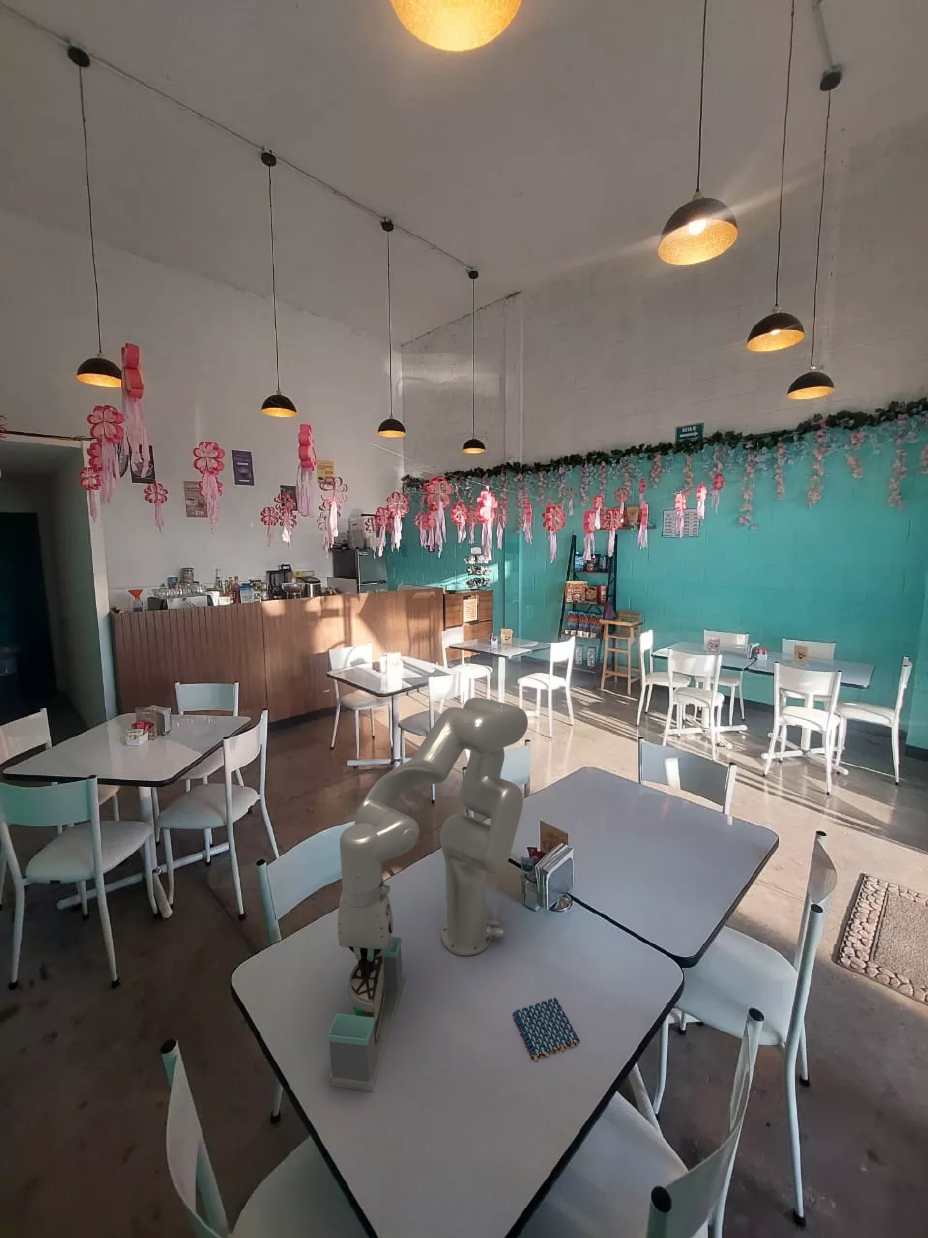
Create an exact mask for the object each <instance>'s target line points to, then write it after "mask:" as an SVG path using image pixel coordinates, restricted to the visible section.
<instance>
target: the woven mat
mask: <svg viewBox="0 0 928 1238" xmlns="http://www.w3.org/2000/svg"><path fill="white" fill-rule="evenodd" d="M562 1007H563V1006H561V1004H560V1003H559V1000H558V999H557V997H554V998H552V997H550V998H549V999H545V1000H544V1001H543V1000H541V1002H540V1001H538V1002H536V1003H535V1004H533V1003H532V1004H530V1005H529V1006H528V1005H527V1006H526V1007H521V1008H519V1009H518V1008H517V1009H516V1010H515V1011H514V1012H512V1017H513V1021H514V1022H515V1024H516V1026H517V1028H518V1031H519V1032H520V1036H521V1038H522V1039H523V1042H524V1043H525V1047H526V1049H527V1051H528V1054H529V1055H530V1059H531V1060H534V1062H537V1061H538V1060H539V1059H538V1058H540V1059H542V1058H544V1057H546V1058H548V1057H549V1054H550V1055H553V1054H554V1051H555V1054H556V1055H558V1054H560V1051H561V1052H564V1051H565V1049H569V1046H570V1048H575V1045H576V1046H578V1045H579V1042H580V1041H581V1040H580V1037H578V1033H577V1032H576V1031H575V1030H574V1027H573V1025H572V1024H571V1022H570V1020H569V1018H568V1016H567V1015H566V1013H565V1010H563V1008H562ZM543 1055H544V1057H543Z"/></svg>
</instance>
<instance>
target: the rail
mask: <svg viewBox="0 0 928 1238" xmlns="http://www.w3.org/2000/svg"><path fill="white" fill-rule="evenodd" d="M405 982H406V975H405V973H403V972H402V976H401V980H400V983H399V986H398V989H392V988H384V992H385V998H384V1003H383V1008H382V1014H381V1019H380V1024H379V1030H378V1035H377V1040H375V1049H376V1062H375V1065H374V1068H373V1071H372V1075H371V1078H370V1081H369V1082H365V1081H358V1080H351V1079H343V1078H336V1077H332V1070H331V1071H330V1073H329V1086H330V1087H335V1088H344V1089H352V1090H356V1091H357V1090H358V1091H364V1092H371V1093H372V1092H373V1091H374V1087H375V1084H376V1081H377V1078H378V1074H379V1071H380V1067H381V1064H382V1060H383V1058H384V1054H385V1050H386V1047H387V1043H388V1040H389V1037H390V1034H391V1029H392V1027H393V1023H394V1019H395V1016H396V1012H397V1011H398V1006H399V1003H400V999H401V996H402V993H403V989H404V985H405ZM352 1015H354V1013H353V1014H352ZM354 1016H355V1015H354Z"/></svg>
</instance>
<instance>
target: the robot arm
mask: <svg viewBox="0 0 928 1238" xmlns="http://www.w3.org/2000/svg"><path fill="white" fill-rule="evenodd" d="M528 724H529V719H528V716H527V713H526V712H525V710H524V709H523V708H521V707H519V706H517V705H514V704H509V703H505V702H500V701H497V700H493V699H489V698H485V697H484V698H483V697H470V698H469V699H467V700H466V701H465V702H464V703H463V707H456V706H451V707H447V708H446V709H444V710H443V711H442V713H441V714H440V715H439V717H438V719H437V720H436V721H435V723H434V725H433V726H432V728H431V729H430V731H429V732H428V734H427V735H426V737H425V738H424V740H423V742H421V745H420V746H419V747H418V749H417V751H416V752H415V753H414V755H413V757H411V758H410V759H409V760H407V761H406V762H403V763H401V764H400V765H398V766H396V767H395V768H393V769H391V770H389V772H386V773H385V774H384V775H383V776H381V777H380V778H379V779H378V780H377V781H376V782H375V783H374V784H373V786H372V787H371V788H370V790H369V791H368V792H367V794H366V796H364V799H363V801H362V802H361V803H360V806H358V809H357V811H356V814H355V817H354V823H353V824H352V825H350V826H349V827H347V828H345V830H343V832H342V833H341V835H340V838H339V849H340V850H339V852H340V865H341V866H340V867H341V880H342V881H341V884H342V885H341V886H342V893H341V894H340V898H339V903H338V904H339V905H338V912H337V939H338V945H339V946H341V947H343V948H348V949H349V950H350V951H351V952H352V953H353V954H354V957H355V959H356V960H357V963H358V966H359V970H361V978H366V979H369V978H370V975H371V973H372V972H374V970H375V967H376V960H375V956H376V955H378V954H379V953H380V952H381V951H390V950H391V949H392V946H393V942H392V938H391V937H392V936H391V935H392V934H393V932H394V919H393V912H392V906H391V901H390V897H389V893H390V890H391V889H390V885H387V884H385V883H384V878H383V868H382V863H383V862H386V861H388V860H392V859H394V858H397V857H399V856H402V855H405V854H406V853H408V852H410V851H411V850H412V849H413V848H414V847H415V846H416V844H417V843H418V841H419V838H420V827H419V825H418V823H417V822H416V821H415V819H413V818H412V817H410V816H409V815H406V814H404V813H402V812H400V811H398V810H396V809H395V808H393V807H391V805H392V804H393V802H394V801H396V799H397V798H398V797H399V796H401V795H402V794H404V793H405V792H407V791H409V790H412V789H415V788H418V787H419V788H420V787H426V786H432V785H437V784H441V783H443V782H445V781H446V780H447V778H448V776H449V774H450V773H451V771H452V770H453V767H454V766H455V764H456V763H457V761H458V760H459V757H460V756H461V755H462V753H463V751H464V750H469V751H470V753H469V757H468V761H467V765H466V768H465V771H464V775H463V779H462V781H461V786H460V788H459V789H460V790H459V793H458V794H459V795H458V800H459V802H460V804H461V806H463V807H464V808H465V809H467V810H469V811H470V812H473V813H474V814H478V815H479V816H483V817H484V818H487V819H490V823H485V822H484V821H482V820H479V819H477V818H475V817H473V816H469V815H467V814H462V813H454V814H452V815H450V816H449V817H447V818H446V819H445V820H444V822H443V824H442V826H441V829H440V837H439V838H440V840H439V842H440V845H441V846H440V847H441V851H442V854H443V860H444V868H445V890H446V891H445V892H446V893H445V895H446V922H445V923H444V924H443V926H442V927H441V932H440V935H441V937H440V938H441V942H442V944H443V946H444V947H445V948H446V949H447V950H448V951H449V952H451V953H453V954H455V955H457V956H463V957H464V956H467V957H468V956H474V955H477V954H480V953H482V952H483V951H485V950H486V949H487V948H488V947H489V945H491V942H492V939H493V937H496V938H504V934H505V932H504V931H505V928H504V927H500V921H499V920H498V921H495V920H494V921H492V920H491V919H489V914H488V912H486V873H488V874H491V875H496V874H498V873H500V872H502V871H503V870H504V869H505V867H506V866H507V864H508V862H509V859H510V857H511V852H512V850H513V846H514V842H515V839H516V836H517V831H518V827H519V823H520V820H521V816H522V813H523V811H522V810H523V805H524V800H523V798H524V797H523V793H522V790H521V788H520V787H519V786H518V785H517V784H516V783H514V782H512V781H509V780H506V779H504V778H501V775H502V774H501V773H502V769H503V765H504V762H505V748H506V747H509V746H512V745H514V744H516V743H518V742H519V741H520V740H521V739H522V738H523V737H524V736H525V734H526V731H527V730H528V726H529V725H528Z"/></svg>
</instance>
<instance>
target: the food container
mask: <svg viewBox="0 0 928 1238" xmlns="http://www.w3.org/2000/svg"><path fill="white" fill-rule="evenodd" d="M383 959H384V954H383V952H380V953H379V954H378V955H376V956H375V960H376V967H375V970H374V972H372V973H371V975H370V978H369V979H366V978H361V970H359V966H358V962H357V963H356V965H355V966H353V969H352V971H351V972H350V975H349V978H348V983H347V996H348V999H349V1001H350V1002H351V1003H352V1007H353V1014H354V1015H355V1016H362V1017H371V1018H374V1020H375V1024H374V1032H375V1040H377V1035H378V1030H379V1024H380V1019H381V1014H382V1008H383V1003H384V998H385V992H384V960H383Z"/></svg>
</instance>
